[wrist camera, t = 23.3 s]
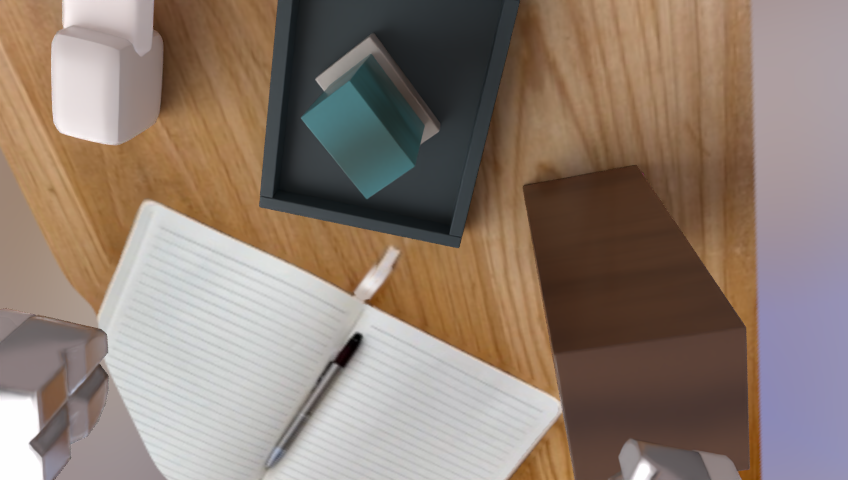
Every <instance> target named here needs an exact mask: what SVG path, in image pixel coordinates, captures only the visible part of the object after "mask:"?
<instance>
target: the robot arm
mask: <svg viewBox="0 0 848 480" xmlns="http://www.w3.org/2000/svg"><path fill="white" fill-rule="evenodd" d="M107 353H108V342H107V334H106V333H105V332H104V331H103V330H102V329H98V328H94V327H89V326H85V325H81V324H76V323H71V322H68V321H63V320H59V319H54V318H50V317H46V316H41V315H34V314H31V313H26V312H21V311H17V310H12V309H7V308H4V309H0V480H55V479H56V477H57V476H58V474H59V473H60V472H61V471H62V469H63V468H64V467H65V466H66V464H67V463H68V462H69V460H70V459H71V445H70V444H72V443H75V442H76V441H79V440H81V439H83V438H85V437H87V436H88V435H89V434H90V432H91V431H92V430H93V428H94V427H95V425H96V424H97V423H98V421H99V418H100V416H101V414H102V411H103V409H104V407H105V404H106V399H107V395H108V389H109V383H108V382H109V376H108V374H107V373H106V372H105V370H104V369H103V368H102V366H101V365H100V364H99V363H100V361H101V360H102V359H103V358H104V357H105V356H106V354H107ZM618 458H619V462H620V466H621V471H619V472H618V473H616V474H614V475H613V476H611V477H609V479H608V480H741V478H740V476H739V474H738V472H737V470H736V467H735V465H734V463H733V462H732V460H730V459H729V458H728V457H727V456H726V455H720V454H715V453H709V452H703V451H698V450H693V451H692V450H688V449H683V448H678V447H673V446H668V445H663V444H658V443H653V442H648V441H643V440H638V439H633V438H629V439H628V441H627V442H626V443H625V444H624V445H623V447H622V450H621V452H620V454H619V456H618Z"/></svg>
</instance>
